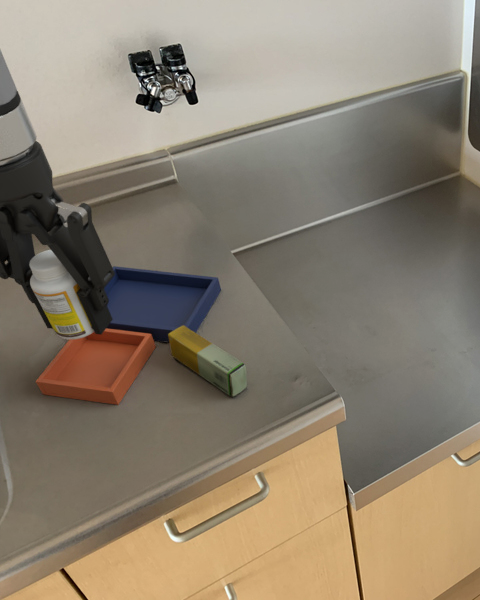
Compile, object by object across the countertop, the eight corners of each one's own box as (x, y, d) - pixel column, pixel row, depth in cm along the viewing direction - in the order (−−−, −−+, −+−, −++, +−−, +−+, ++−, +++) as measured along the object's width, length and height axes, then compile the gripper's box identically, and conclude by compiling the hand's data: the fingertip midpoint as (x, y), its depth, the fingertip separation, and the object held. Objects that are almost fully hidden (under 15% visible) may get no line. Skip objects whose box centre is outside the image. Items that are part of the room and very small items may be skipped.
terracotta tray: (43, 394, 77) (35, 381, 75) (87, 338, 84) (80, 325, 83) (118, 405, 76) (112, 391, 74) (156, 346, 83) (151, 333, 81)
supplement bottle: (93, 304, 77) (64, 238, 71) (112, 326, 74) (83, 259, 68) (48, 325, 75) (13, 258, 68) (65, 349, 72) (30, 281, 65)
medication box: (249, 386, 78) (247, 364, 75) (233, 399, 76) (230, 375, 74) (186, 345, 83) (182, 323, 81) (170, 356, 81) (165, 333, 79)
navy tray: (76, 331, 85) (69, 317, 84) (118, 278, 94) (113, 265, 92) (188, 344, 83) (184, 331, 82) (221, 290, 92) (218, 277, 90)
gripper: (106, 139, 61) (165, 311, 76) (-61, 126, 63) (29, 295, 78) (63, 177, 55) (136, 354, 71) (-119, 161, 58) (-9, 336, 73)
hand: (80, 323), depth 74 cm, fingers closed on supplement bottle, 6 cm apart
